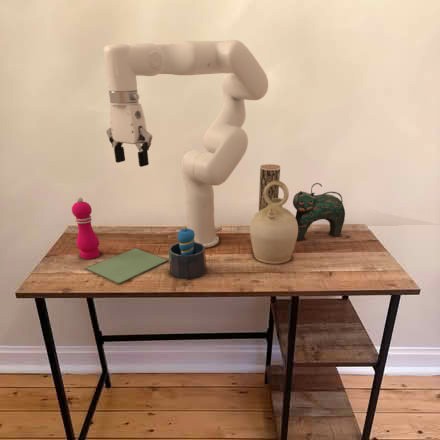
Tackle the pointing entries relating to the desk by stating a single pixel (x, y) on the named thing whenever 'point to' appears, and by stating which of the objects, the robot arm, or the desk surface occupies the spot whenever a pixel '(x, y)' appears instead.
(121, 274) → the mat
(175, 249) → the crock
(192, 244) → the ornament
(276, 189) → the wooden log
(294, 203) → the ceramic cat
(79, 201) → the pepper mill
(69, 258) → the desk surface
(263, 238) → the jug
